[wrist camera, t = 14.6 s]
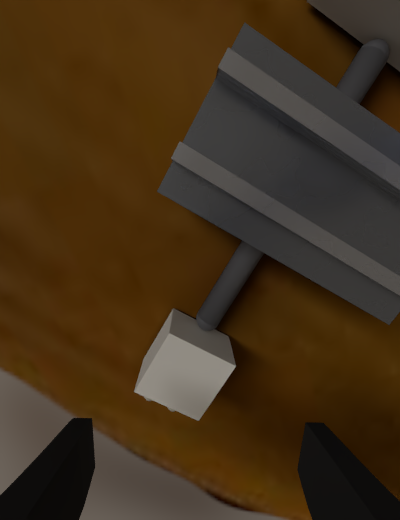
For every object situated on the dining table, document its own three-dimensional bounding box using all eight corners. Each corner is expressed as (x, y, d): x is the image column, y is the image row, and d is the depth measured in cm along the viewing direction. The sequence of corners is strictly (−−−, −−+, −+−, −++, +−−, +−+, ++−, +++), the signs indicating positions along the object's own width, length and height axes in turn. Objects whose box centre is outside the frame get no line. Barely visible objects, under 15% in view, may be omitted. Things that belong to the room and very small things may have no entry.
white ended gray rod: (458, 57, 14) (530, 20, 11) (214, 408, 18) (218, 449, 16) (331, -45, 12) (373, -116, 9) (107, 359, 17) (90, 393, 14)
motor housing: (388, 196, 15) (515, 198, 9) (326, 282, 17) (403, 334, 11) (224, 87, 14) (249, 5, 8) (169, 191, 15) (154, 191, 9)
